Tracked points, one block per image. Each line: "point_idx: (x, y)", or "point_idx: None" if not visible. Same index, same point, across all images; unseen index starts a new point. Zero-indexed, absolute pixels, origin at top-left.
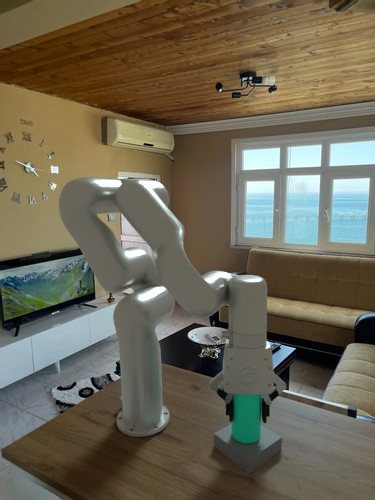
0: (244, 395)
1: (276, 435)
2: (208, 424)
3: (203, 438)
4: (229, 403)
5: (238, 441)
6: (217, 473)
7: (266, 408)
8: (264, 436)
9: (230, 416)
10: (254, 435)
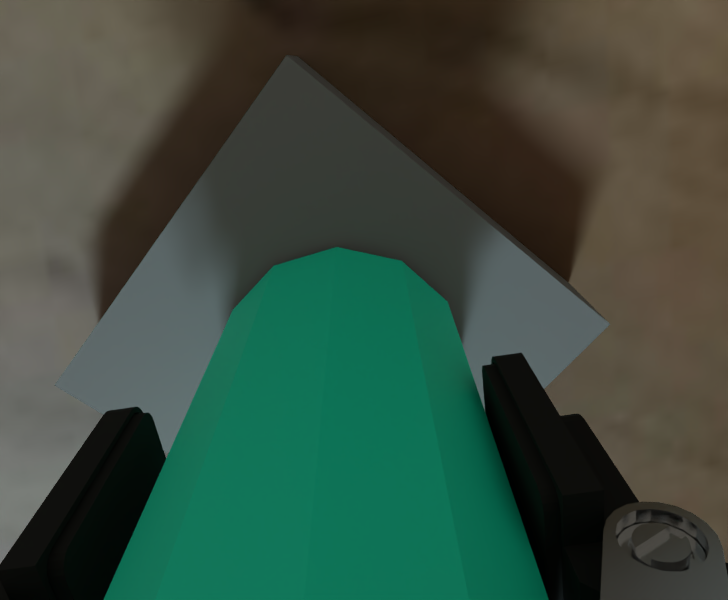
0: None
1: (99, 397)
2: None
3: (646, 343)
4: (599, 520)
5: None
6: (532, 8)
7: (24, 536)
8: (191, 369)
9: (526, 384)
10: (253, 302)
